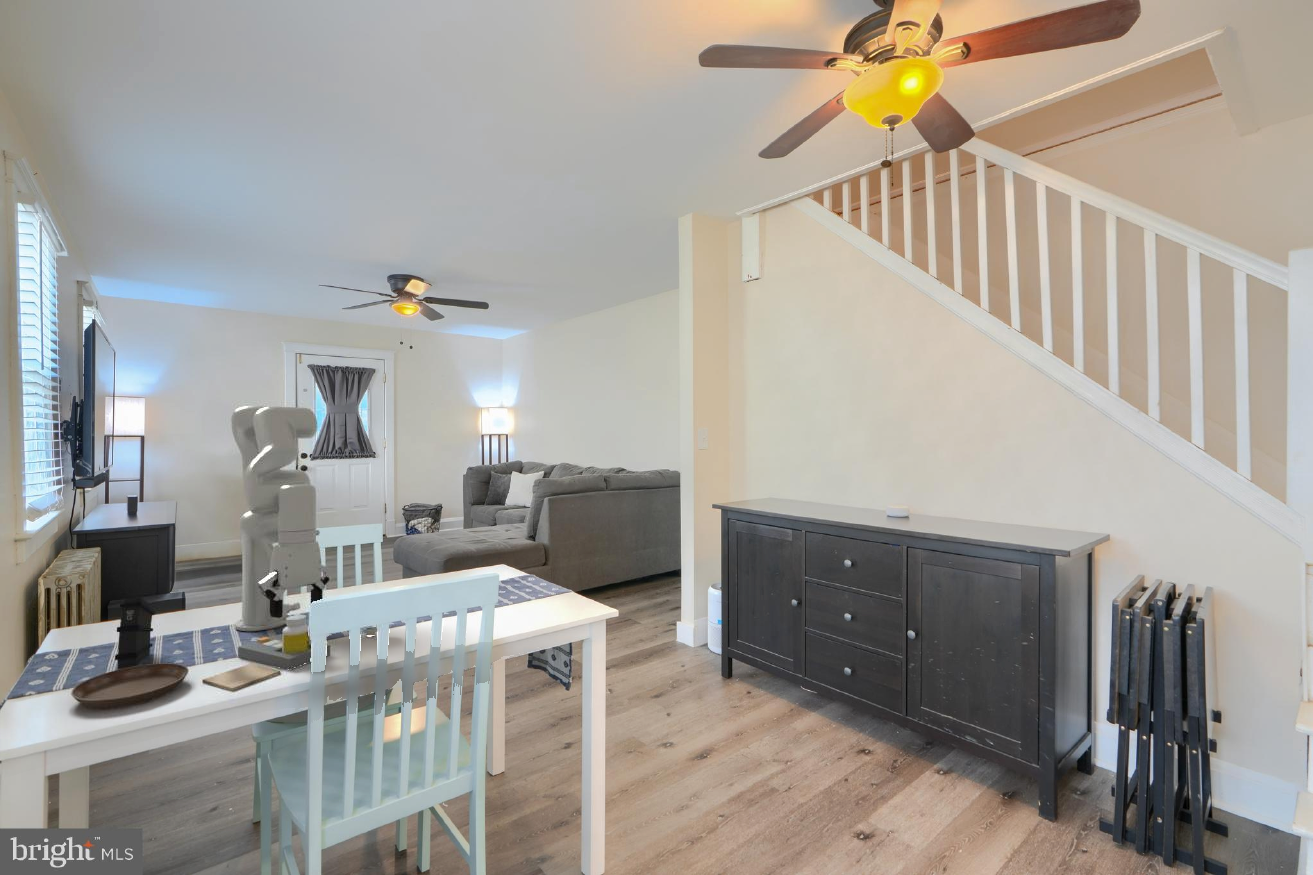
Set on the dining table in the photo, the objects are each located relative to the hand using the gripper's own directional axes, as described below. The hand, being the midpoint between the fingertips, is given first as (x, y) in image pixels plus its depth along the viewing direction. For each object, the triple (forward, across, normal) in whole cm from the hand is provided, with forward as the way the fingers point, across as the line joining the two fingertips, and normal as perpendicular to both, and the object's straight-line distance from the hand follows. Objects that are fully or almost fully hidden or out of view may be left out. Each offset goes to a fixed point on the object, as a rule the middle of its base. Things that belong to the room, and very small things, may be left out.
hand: (297, 611), depth 139 cm
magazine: (+11, +16, -33) cm, 38 cm away
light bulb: (+11, -19, +1) cm, 22 cm away
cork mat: (+11, +12, -1) cm, 16 cm away
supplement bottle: (+11, 0, -1) cm, 11 cm away
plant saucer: (+12, +26, -13) cm, 31 cm away
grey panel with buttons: (+11, 0, -5) cm, 12 cm away
